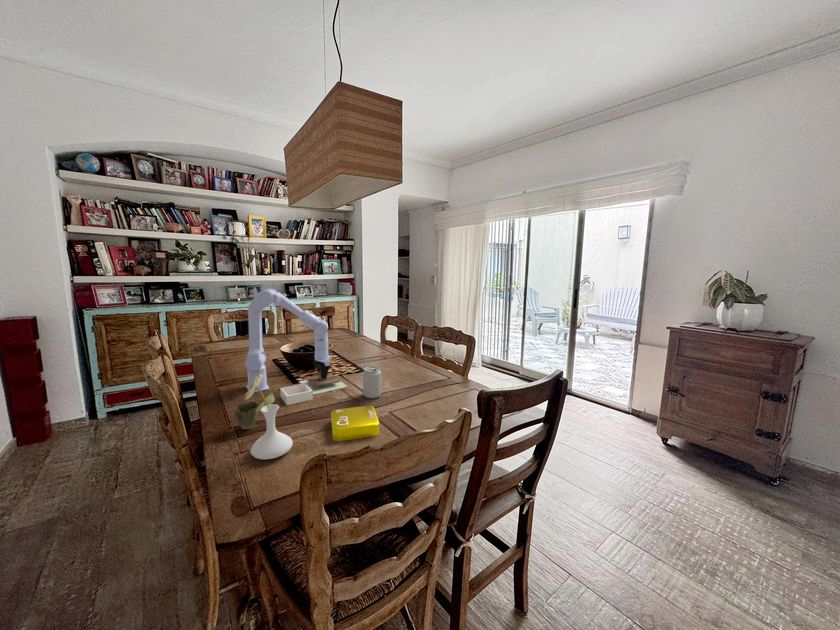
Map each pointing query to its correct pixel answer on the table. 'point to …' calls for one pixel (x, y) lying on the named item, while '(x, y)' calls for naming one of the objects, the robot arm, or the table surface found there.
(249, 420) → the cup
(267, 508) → the table surface
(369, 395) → the can
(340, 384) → the mat
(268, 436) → the flower in vase
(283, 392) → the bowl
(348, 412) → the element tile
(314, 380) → the lid
